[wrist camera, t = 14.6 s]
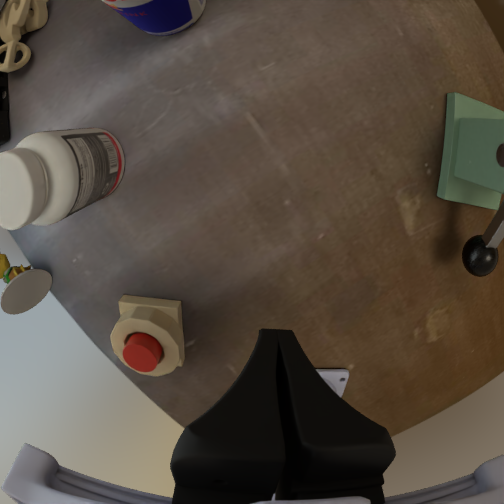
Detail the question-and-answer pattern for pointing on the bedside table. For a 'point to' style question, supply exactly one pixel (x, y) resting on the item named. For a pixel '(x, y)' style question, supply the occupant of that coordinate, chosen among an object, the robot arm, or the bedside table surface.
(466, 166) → the bracket
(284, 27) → the bedside table surface
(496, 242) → the lever
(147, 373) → the button box
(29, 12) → the decorative script
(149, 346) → the button
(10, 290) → the figurine
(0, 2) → the phone
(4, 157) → the pill bottle
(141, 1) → the beverage can
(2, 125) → the cassette tape
